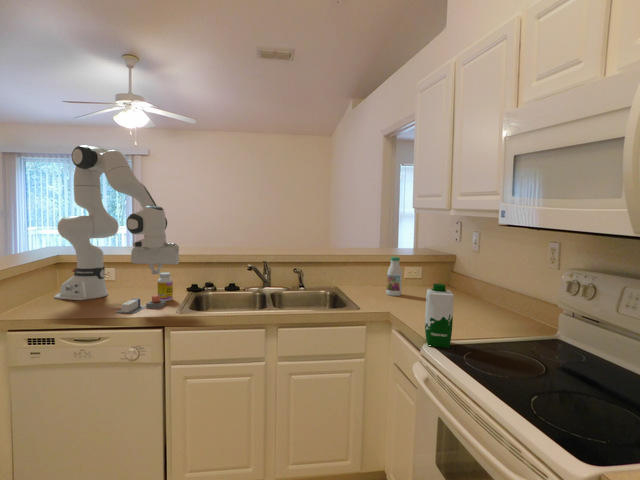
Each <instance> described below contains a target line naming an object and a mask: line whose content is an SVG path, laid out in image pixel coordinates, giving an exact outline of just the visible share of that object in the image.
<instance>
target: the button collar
mask: <svg viewBox="0 0 640 480" xmlns="http://www.w3.org/2000/svg"><path fill="white" fill-rule="evenodd" d="M166 305H167V301H161V300H160V303H152V300H150V301H148V302H146V305H145V306H146V307H145V308H146V309H161V308H163V307H165V306H166Z"/></svg>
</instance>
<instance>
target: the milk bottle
mask: <svg viewBox="0 0 640 480" xmlns="http://www.w3.org/2000/svg"><path fill="white" fill-rule="evenodd" d="M402 272H403V271H402V268H401V265H400V257H399V256H391V257H390V265H389V267H388V269H387V273H386V274H387V276H386V295H388V296H391V297H399V296H400V297H401V295H402V290H403V289H402V287H403V285H402V282H403V273H402Z"/></svg>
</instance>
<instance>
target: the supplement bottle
mask: <svg viewBox="0 0 640 480" xmlns="http://www.w3.org/2000/svg"><path fill="white" fill-rule="evenodd" d="M173 284H174V283H173V278H171V272H160V274H159V278H158V279H157V295H160V300H161V301H166V302H169V301H172V300H173V299H174V297H173V296H174V295H173V291H174V290H173V289H174V287H173Z"/></svg>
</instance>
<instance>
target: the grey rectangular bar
mask: <svg viewBox="0 0 640 480" xmlns="http://www.w3.org/2000/svg"><path fill="white" fill-rule="evenodd" d="M140 306H141V298H132V299H130V300H128V301H125V302H124V303H122V304H121V309H122V312H130V311H132V310H134V309H136V308H138V307H140Z"/></svg>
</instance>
